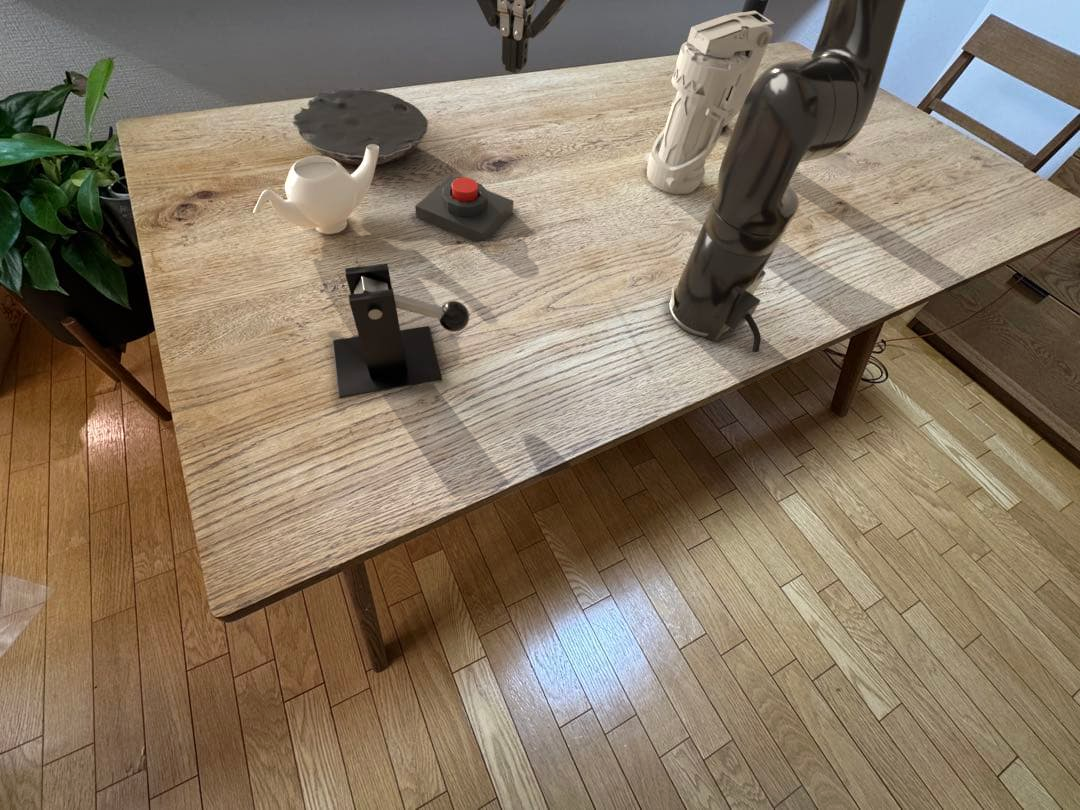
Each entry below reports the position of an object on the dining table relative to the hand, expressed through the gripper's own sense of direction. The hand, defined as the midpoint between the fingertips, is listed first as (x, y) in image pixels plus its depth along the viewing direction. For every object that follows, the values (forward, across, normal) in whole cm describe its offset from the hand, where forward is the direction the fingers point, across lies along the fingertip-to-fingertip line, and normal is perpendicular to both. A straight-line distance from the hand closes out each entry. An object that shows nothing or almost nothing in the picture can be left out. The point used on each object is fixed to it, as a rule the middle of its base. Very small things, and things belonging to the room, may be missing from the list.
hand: (513, 70), depth 65 cm
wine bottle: (+22, -21, -53) cm, 61 cm away
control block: (+22, +7, +2) cm, 23 cm away
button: (+19, +7, +2) cm, 20 cm away
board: (+22, +31, -6) cm, 38 cm away
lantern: (+22, -21, -30) cm, 43 cm away
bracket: (+23, 0, +33) cm, 40 cm away
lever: (+15, -3, +31) cm, 35 cm away
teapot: (+22, +22, +15) cm, 35 cm away
